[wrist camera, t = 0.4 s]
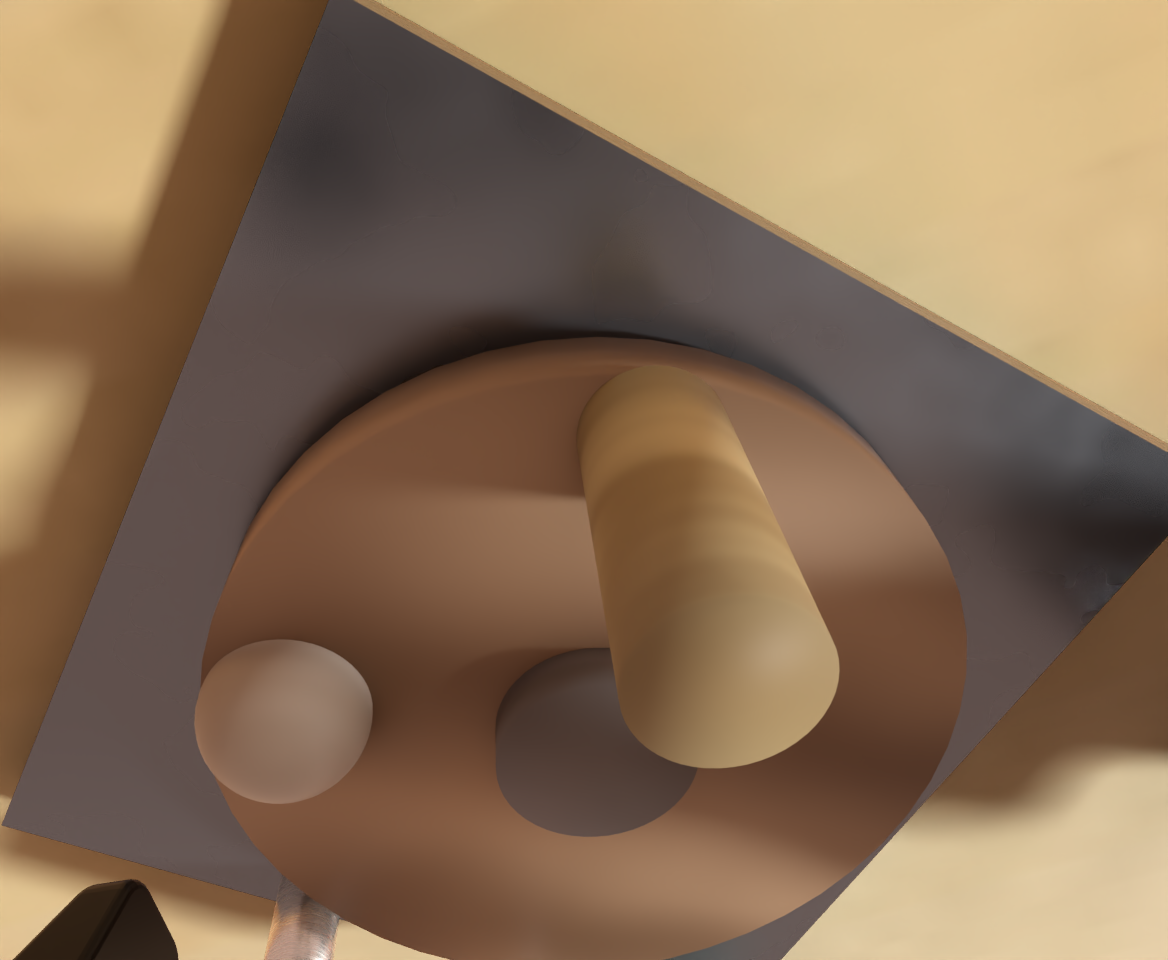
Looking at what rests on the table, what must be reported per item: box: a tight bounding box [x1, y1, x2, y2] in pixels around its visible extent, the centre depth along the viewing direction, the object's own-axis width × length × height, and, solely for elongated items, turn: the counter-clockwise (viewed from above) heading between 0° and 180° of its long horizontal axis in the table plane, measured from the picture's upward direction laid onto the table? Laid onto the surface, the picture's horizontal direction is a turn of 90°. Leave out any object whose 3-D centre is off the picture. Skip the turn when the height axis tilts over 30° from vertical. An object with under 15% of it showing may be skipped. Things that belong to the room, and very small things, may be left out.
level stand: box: [2, 0, 1168, 960], centre depth 20 cm, size 18×18×5 cm
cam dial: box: [194, 337, 967, 960], centre depth 17 cm, size 14×14×8 cm
